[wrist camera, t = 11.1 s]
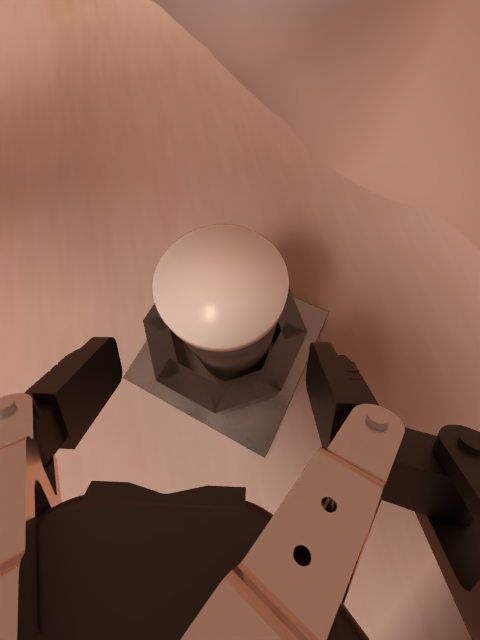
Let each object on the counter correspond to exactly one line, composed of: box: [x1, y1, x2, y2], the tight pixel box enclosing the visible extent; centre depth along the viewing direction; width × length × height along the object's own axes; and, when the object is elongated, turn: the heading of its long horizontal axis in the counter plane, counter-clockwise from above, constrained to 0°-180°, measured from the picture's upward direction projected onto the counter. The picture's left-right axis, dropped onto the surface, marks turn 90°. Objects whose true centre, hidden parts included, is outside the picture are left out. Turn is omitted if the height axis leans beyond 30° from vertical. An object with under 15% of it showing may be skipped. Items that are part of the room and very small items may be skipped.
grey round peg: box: [153, 224, 289, 381], centre depth 15 cm, size 5×5×10 cm
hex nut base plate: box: [123, 288, 328, 458], centre depth 18 cm, size 11×11×4 cm
